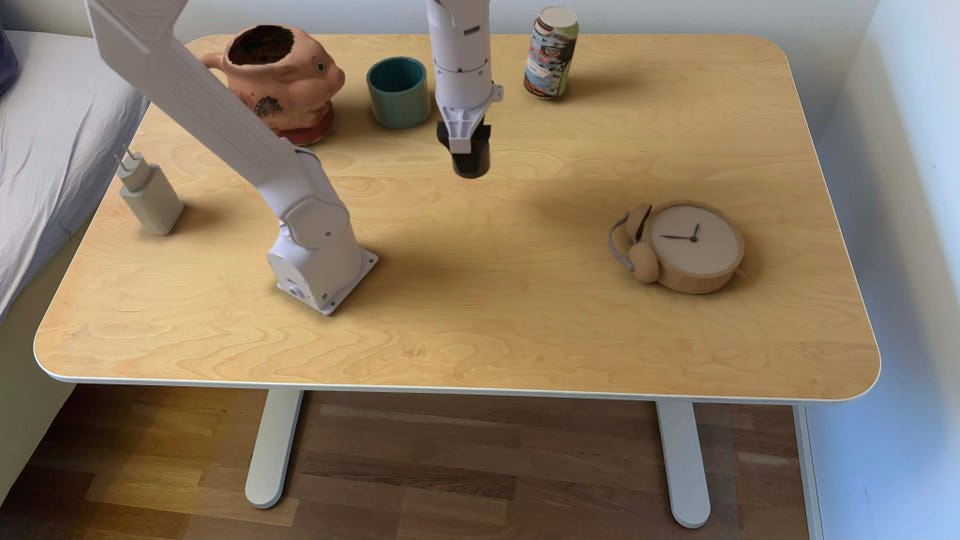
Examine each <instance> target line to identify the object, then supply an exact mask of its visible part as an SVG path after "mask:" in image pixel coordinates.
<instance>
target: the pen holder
mask: <svg viewBox="0 0 960 540" xmlns="http://www.w3.org/2000/svg"><path fill="white" fill-rule="evenodd" d="M365 82H366V86H367V91H368V95H369V99H370V103H371V108H372V111H373V115H374V118H375V120H376V121H377V122H378V123H379V124H380V125H382V126H383V127H385V128H389V129H393V130H404V129H411V128H413V127H416V126H418V125H420V124H422V123H423V122H425V120H426V119H428V117H429V116H430V114H431V112H432V102H431V101H432V100H431V94H430V86H429V78H428V72H427V69H426V67H425V65H424V64H423V63H422V62H421V61H420V60H418V59H415V58H414V57H411V56H403V55H402V56H401V55H400V56H399V55H398V56H391V57H386V58H384V59H381V60H380V61H378V62H375V64H373V65H372V66H371V67H370V68H369V69H368V71H367V73H366V77H365Z"/></svg>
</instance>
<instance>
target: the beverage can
mask: <svg viewBox="0 0 960 540" xmlns="http://www.w3.org/2000/svg"><path fill="white" fill-rule="evenodd" d="M579 33H580V26H579V23H578V16H577V15H576V13H574V12H573V10H571V9H569V8H566V7H562V6H557V5H555V6H551V5H550V6H547V7H544V8H543V9H541V11H540V12H539V14H538V15H537V16H536V18H535V19H534V22H533V27H532V33H531V38H530V44H529V48H528V55H527V60H526V66H525V71H524V77H523V86H524V88H525V90H526V91H527V92H528V93H530V94H531V95H533V96H534V97H535V98H539V99H543V100H550V99H554V98H558V97H560V96H561V95H562V94H564V92H565V91H566V86H567V83H568V79H569V75H570V71H571V66H572V61H573V57H574V53H575V49H576V45H577V41H578V37H579Z"/></svg>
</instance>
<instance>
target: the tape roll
mask: <svg viewBox="0 0 960 540" xmlns="http://www.w3.org/2000/svg"><path fill="white" fill-rule="evenodd" d="M490 149H491V147H490V140H489V141H488V142H487V144H486V145H485V146H484V148H483V150H482V153H481V159H480V166H479V169H478V172H477V173H460V172H459V170H458V168H457V166H456V164H455V162H454V160H453V157H452V155H451V154H450V155H451V162H452V170H453V172H454V173H455V174H456V175H457V176H458V177H460V178H462V179H467V180H475V179H479V178H481V177H483V176H486V174H487V173H488V172H489V171H490V168H491V150H490Z"/></svg>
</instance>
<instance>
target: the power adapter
mask: <svg viewBox="0 0 960 540" xmlns="http://www.w3.org/2000/svg"><path fill="white" fill-rule="evenodd" d="M122 147H124V149H125V151H126V153H127V154H128V155H127V156H126V157H125V158H124V160H123V161H122V160H121V159H120V157H119V156H118V154H114V158H115V159H116V160H117V162H118V164H119V166H118V169H117V170H116V175H117V177H118V178H119V180H120V181H121V183H122V186H121V187H120V188H119V191H118V194H119V196H120V197H121V198H122V200H123V201H124V203H125V204H126V205H127V207H128V208H129V210H130V211H131V213H132V214H133V215H134V217H135V218H136V219H137V221H138V222H139V224H140V225H141V226H142V228H143V229H144V231H145V232H146V233H147V234H148V235H152V236H167V235H168V234H170V232H171V230H172V229H173V227H174V225H175V223H176V222H177V220H178V218H179V217H180V215H181V213H182V212H183V210H184V207H185V206H184V203H183V202H182V200H181V199H180V197H179V196H178V194H177V192H176V191H175V189H174V187H173V186H172V184H171V182H170V181H169V179H168V177H167V176H166V174H165V172H164V171H163V169H162V168H161V166H160V165H159V164H157V163H150V162H147V160H146V159H145V157H144V155H142V153H141V152H140V151H135V152H133V153H132V152H131V150H130V149H129V148H128V146H127V145H126V143H123V144H122Z"/></svg>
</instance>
